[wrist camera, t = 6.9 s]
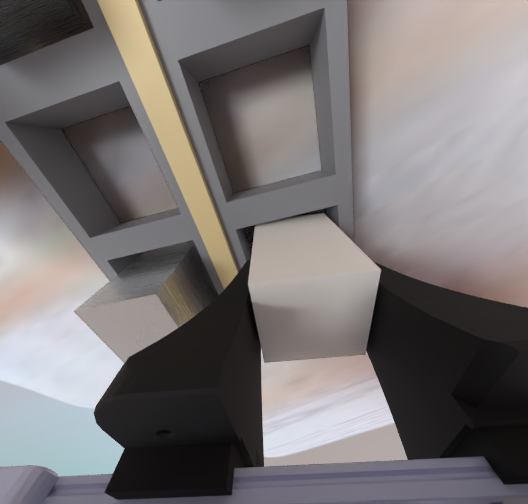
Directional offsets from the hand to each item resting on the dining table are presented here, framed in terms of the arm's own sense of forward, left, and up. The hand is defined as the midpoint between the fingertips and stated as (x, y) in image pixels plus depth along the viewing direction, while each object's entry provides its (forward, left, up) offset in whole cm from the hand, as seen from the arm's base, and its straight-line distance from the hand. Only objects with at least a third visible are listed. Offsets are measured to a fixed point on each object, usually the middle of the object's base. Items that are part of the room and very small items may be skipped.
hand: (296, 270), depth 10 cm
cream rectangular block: (0, 0, -2) cm, 2 cm away
